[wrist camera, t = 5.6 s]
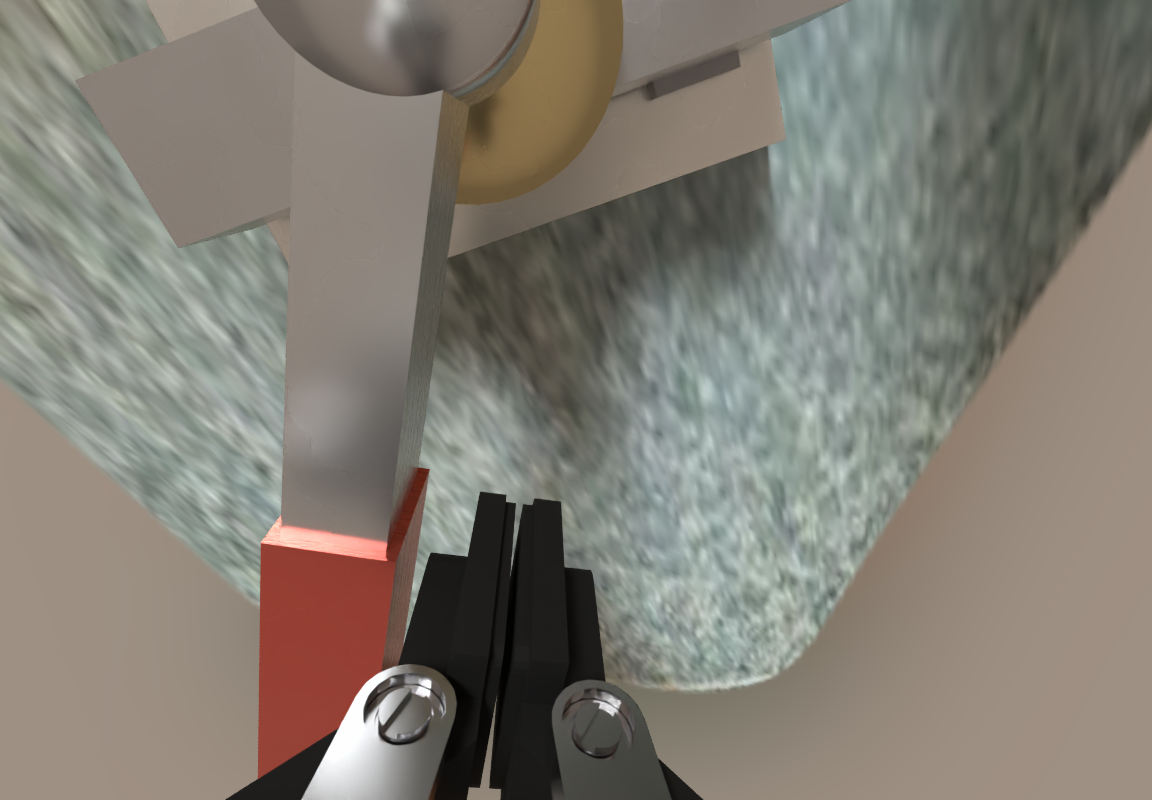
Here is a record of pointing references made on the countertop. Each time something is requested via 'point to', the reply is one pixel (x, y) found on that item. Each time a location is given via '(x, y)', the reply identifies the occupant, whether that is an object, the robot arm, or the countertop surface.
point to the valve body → (494, 126)
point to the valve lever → (363, 331)
